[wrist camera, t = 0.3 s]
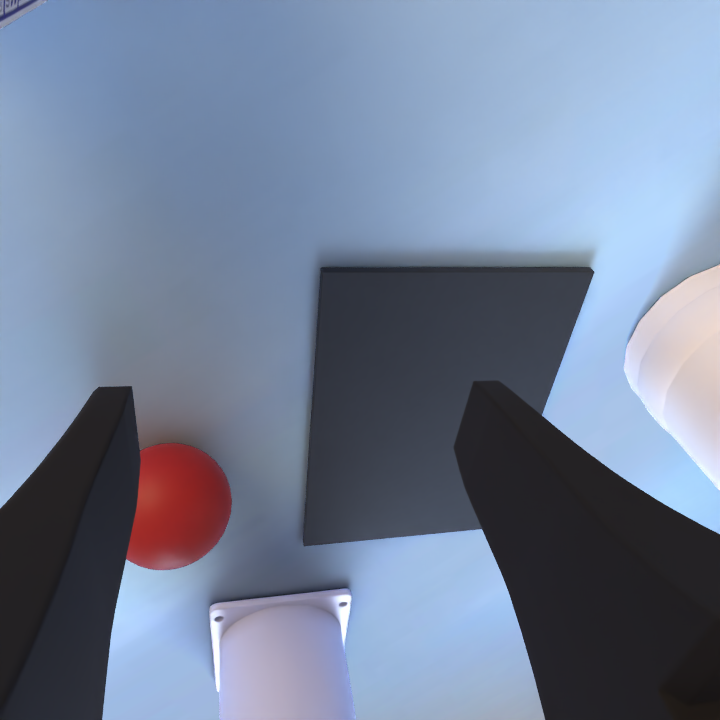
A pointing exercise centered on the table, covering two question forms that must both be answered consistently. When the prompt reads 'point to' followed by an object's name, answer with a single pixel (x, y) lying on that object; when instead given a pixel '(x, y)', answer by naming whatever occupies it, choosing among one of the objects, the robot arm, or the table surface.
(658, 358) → the bottle
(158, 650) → the table surface
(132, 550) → the ball
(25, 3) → the grey streaked block
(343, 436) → the mat
